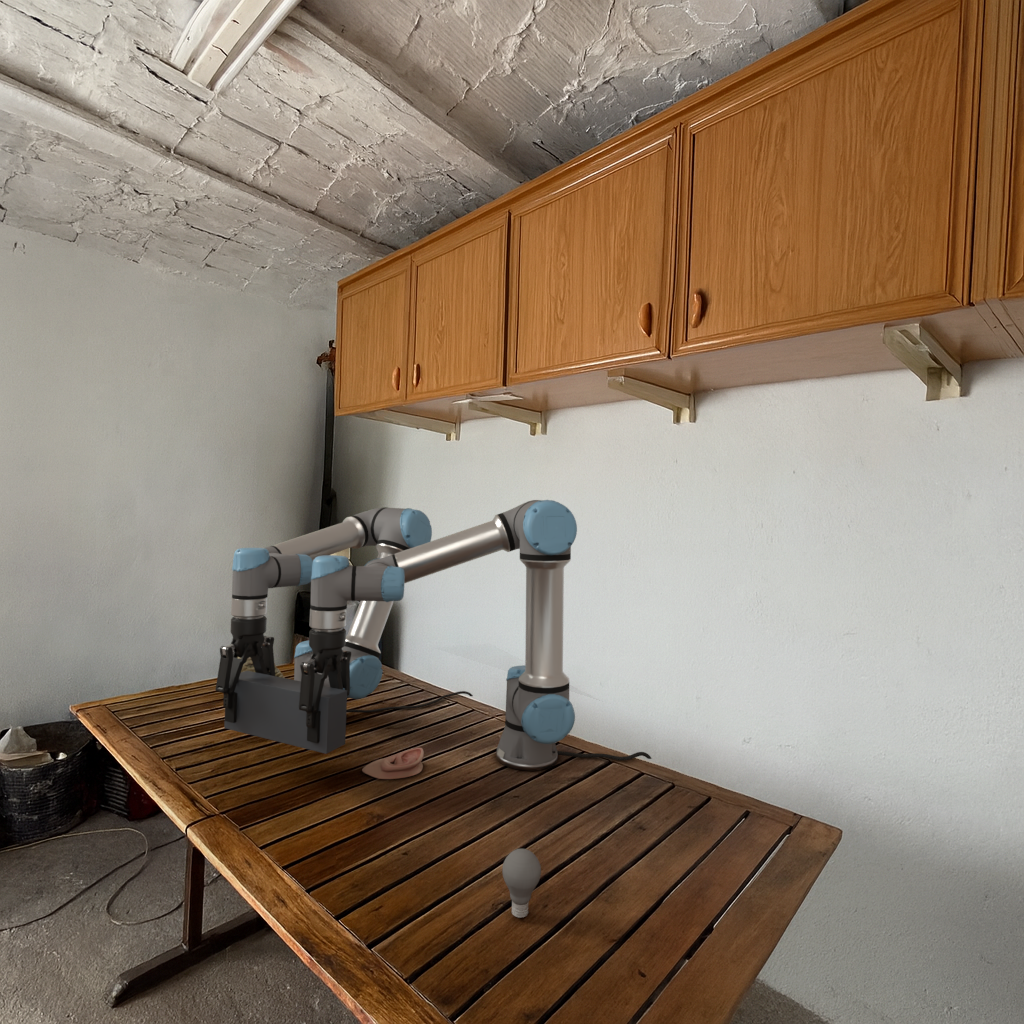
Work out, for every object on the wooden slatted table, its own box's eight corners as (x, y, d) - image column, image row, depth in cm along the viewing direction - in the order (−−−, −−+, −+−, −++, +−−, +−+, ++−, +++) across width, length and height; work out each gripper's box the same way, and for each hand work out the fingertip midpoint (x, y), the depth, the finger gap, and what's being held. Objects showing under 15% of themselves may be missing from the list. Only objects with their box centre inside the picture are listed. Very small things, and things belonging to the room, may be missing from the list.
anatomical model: (356, 758, 144) (377, 740, 155) (356, 775, 144) (376, 756, 155) (412, 766, 141) (429, 746, 152) (411, 783, 141) (428, 763, 153)
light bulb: (499, 902, 101) (501, 840, 101) (536, 902, 101) (539, 840, 101) (501, 928, 95) (504, 862, 95) (541, 927, 95) (544, 862, 95)
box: (224, 728, 143) (225, 676, 143) (245, 720, 148) (247, 670, 148) (326, 754, 131) (328, 698, 131) (345, 744, 137) (347, 690, 136)
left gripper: (224, 625, 133) (220, 733, 133) (294, 611, 152) (290, 706, 152) (198, 621, 136) (194, 726, 136) (270, 608, 155) (267, 700, 155)
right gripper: (310, 638, 125) (306, 755, 125) (369, 623, 142) (365, 725, 142) (281, 634, 128) (277, 747, 128) (342, 619, 145) (339, 719, 145)
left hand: (245, 715), depth 144 cm, fingers open, 8 cm apart
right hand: (324, 735), depth 135 cm, fingers closed on box, 6 cm apart
